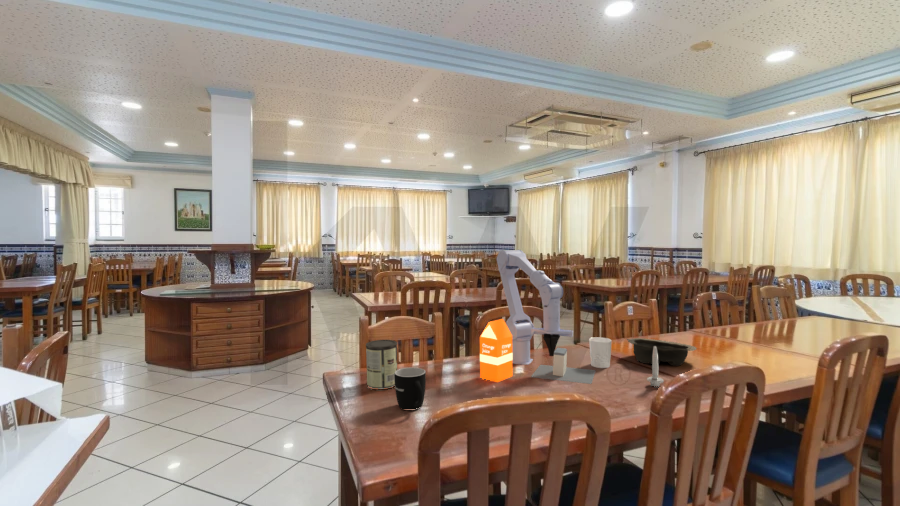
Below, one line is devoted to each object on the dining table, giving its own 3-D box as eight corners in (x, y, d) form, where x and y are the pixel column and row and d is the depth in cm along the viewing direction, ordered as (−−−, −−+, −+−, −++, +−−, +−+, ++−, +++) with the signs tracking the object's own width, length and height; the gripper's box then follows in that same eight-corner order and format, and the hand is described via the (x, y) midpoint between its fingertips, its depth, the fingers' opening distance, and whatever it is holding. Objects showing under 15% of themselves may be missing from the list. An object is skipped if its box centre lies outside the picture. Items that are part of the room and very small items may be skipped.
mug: (390, 404, 127) (389, 370, 126) (418, 398, 131) (418, 365, 131) (406, 419, 116) (405, 381, 116) (436, 412, 120) (435, 376, 120)
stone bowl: (630, 367, 160) (629, 341, 160) (623, 355, 183) (623, 333, 184) (705, 371, 152) (705, 344, 153) (689, 358, 176) (688, 335, 177)
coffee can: (376, 379, 150) (375, 338, 150) (403, 381, 147) (402, 340, 147) (360, 388, 141) (359, 345, 140) (389, 391, 137) (388, 347, 137)
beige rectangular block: (552, 374, 151) (553, 352, 150) (556, 369, 157) (557, 347, 157) (563, 376, 149) (564, 353, 149) (566, 370, 156) (567, 348, 155)
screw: (655, 389, 136) (643, 384, 141) (667, 387, 138) (654, 382, 142) (655, 348, 136) (643, 345, 140) (667, 346, 138) (654, 343, 142)
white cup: (608, 363, 166) (608, 337, 165) (614, 369, 158) (614, 342, 158) (587, 363, 166) (587, 337, 166) (591, 369, 159) (591, 341, 158)
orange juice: (479, 378, 150) (479, 320, 149) (495, 372, 156) (494, 317, 155) (498, 383, 144) (497, 323, 144) (513, 377, 151) (512, 319, 150)
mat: (530, 377, 149) (530, 377, 149) (540, 365, 164) (540, 364, 164) (591, 384, 141) (591, 383, 141) (595, 371, 156) (595, 370, 156)
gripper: (528, 318, 153) (529, 356, 153) (570, 320, 147) (571, 360, 148) (533, 314, 160) (533, 351, 160) (573, 317, 154) (574, 355, 154)
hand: (551, 355), depth 154 cm, fingers closed
